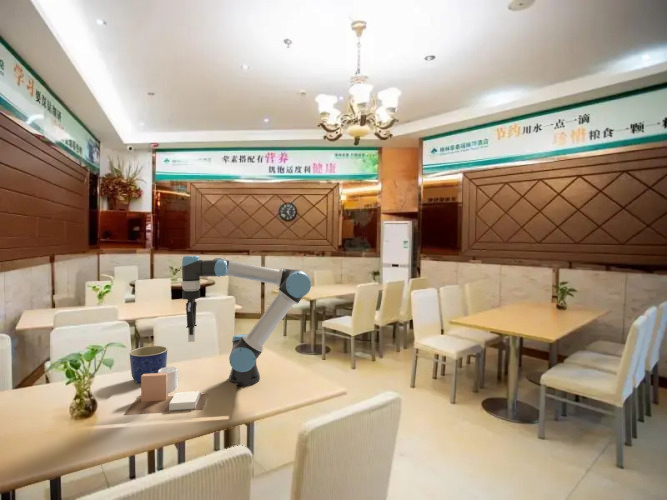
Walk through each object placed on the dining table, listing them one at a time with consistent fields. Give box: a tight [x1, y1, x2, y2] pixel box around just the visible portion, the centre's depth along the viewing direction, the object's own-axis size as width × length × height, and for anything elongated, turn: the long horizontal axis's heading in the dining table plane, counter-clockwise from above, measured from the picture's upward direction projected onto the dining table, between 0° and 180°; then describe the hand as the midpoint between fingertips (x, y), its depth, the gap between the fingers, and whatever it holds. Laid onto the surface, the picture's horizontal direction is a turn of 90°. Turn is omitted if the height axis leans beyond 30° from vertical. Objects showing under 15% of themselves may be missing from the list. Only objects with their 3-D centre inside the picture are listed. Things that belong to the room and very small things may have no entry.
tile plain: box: [140, 373, 169, 402], centre depth 163 cm, size 10×3×11 cm, turn 100°
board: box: [123, 393, 209, 416], centre depth 159 cm, size 30×16×1 cm, turn 100°
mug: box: [158, 366, 179, 393], centre depth 173 cm, size 12×8×10 cm
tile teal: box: [169, 390, 201, 411], centre depth 158 cm, size 10×3×11 cm
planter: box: [129, 345, 168, 384], centre depth 187 cm, size 17×17×15 cm
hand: (191, 341), depth 171 cm, fingers closed
